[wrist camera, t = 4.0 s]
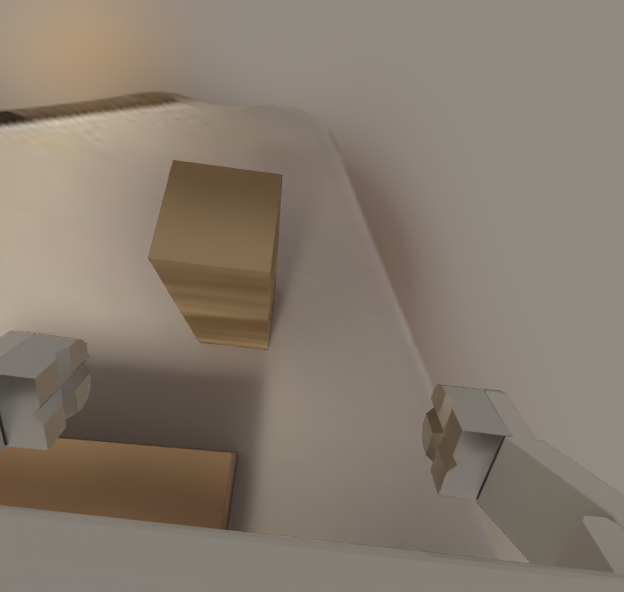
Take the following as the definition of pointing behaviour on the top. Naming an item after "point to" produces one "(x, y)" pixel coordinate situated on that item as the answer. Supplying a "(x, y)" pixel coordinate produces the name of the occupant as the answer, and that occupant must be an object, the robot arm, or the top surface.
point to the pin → (220, 250)
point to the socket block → (122, 481)
